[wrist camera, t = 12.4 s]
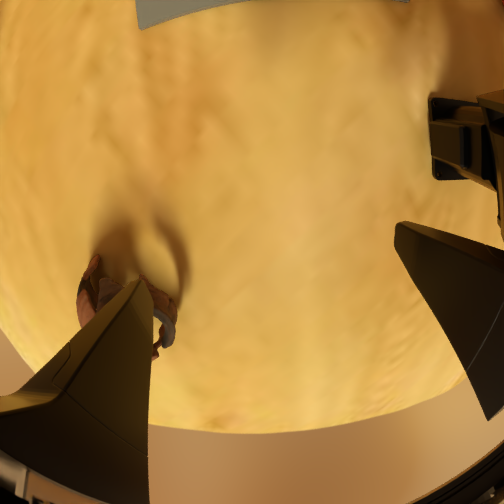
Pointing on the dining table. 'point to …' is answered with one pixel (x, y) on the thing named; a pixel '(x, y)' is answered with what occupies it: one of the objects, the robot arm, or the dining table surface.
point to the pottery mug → (109, 289)
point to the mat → (176, 9)
